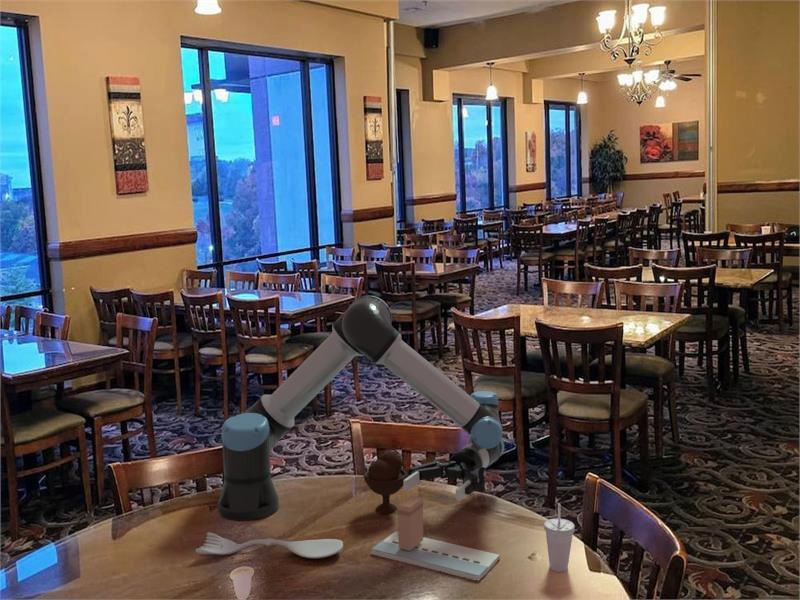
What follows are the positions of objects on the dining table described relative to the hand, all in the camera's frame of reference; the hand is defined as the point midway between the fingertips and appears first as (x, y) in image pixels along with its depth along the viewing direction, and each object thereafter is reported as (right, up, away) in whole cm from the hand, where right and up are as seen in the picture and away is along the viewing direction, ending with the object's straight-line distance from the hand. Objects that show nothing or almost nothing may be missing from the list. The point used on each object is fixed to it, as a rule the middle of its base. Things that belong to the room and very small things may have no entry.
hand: (430, 490), depth 183 cm
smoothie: (+27, -13, -15) cm, 33 cm away
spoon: (-36, -13, -6) cm, 38 cm away
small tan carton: (-5, -10, -6) cm, 13 cm away
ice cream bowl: (-10, -9, +17) cm, 22 cm away
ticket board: (+1, -12, -9) cm, 15 cm away
